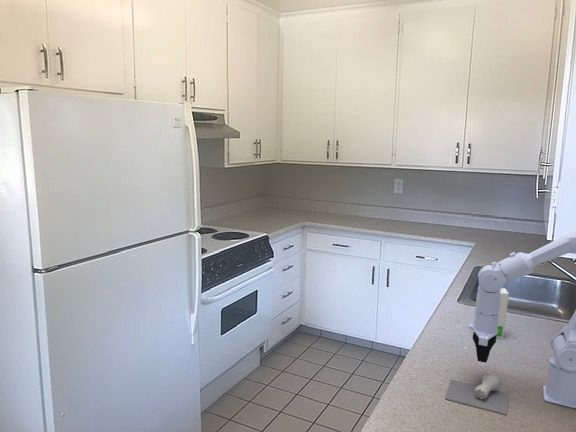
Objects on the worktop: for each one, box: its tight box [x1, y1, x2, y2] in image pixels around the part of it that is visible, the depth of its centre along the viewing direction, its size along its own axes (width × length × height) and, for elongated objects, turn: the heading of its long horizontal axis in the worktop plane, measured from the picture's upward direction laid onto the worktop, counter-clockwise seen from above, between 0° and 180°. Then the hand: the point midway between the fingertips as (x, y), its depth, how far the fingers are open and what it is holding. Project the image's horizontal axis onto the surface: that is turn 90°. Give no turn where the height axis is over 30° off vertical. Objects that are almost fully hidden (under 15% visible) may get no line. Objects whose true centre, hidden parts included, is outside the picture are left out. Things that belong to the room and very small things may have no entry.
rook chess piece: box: [475, 372, 502, 399], centre depth 118 cm, size 4×4×8 cm
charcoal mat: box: [444, 379, 509, 416], centre depth 118 cm, size 14×10×1 cm
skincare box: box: [496, 287, 510, 340], centre depth 155 cm, size 8×7×16 cm
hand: (482, 360), depth 124 cm, fingers closed
